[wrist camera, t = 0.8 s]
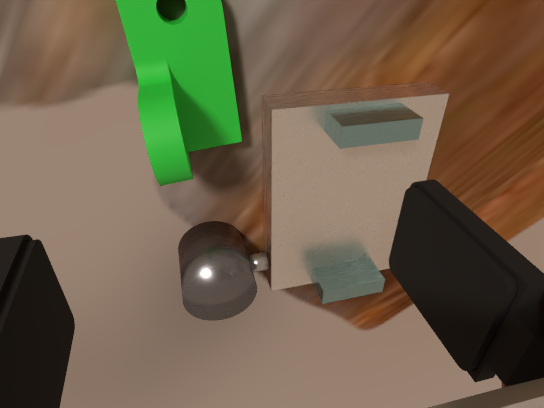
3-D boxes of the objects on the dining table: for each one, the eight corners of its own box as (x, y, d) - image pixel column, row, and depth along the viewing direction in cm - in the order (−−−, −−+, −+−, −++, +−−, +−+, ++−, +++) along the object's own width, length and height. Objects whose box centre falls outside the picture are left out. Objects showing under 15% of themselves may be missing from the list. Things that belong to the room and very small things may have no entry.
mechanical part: (237, 130, 31) (260, 182, 24) (160, 145, 30) (162, 202, 23) (210, -51, 24) (232, -45, 17) (108, -39, 23) (92, -29, 16)
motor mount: (427, 81, 32) (475, 107, 27) (389, 247, 42) (419, 286, 38) (152, 104, 28) (152, 140, 23) (183, 283, 38) (188, 334, 33)
